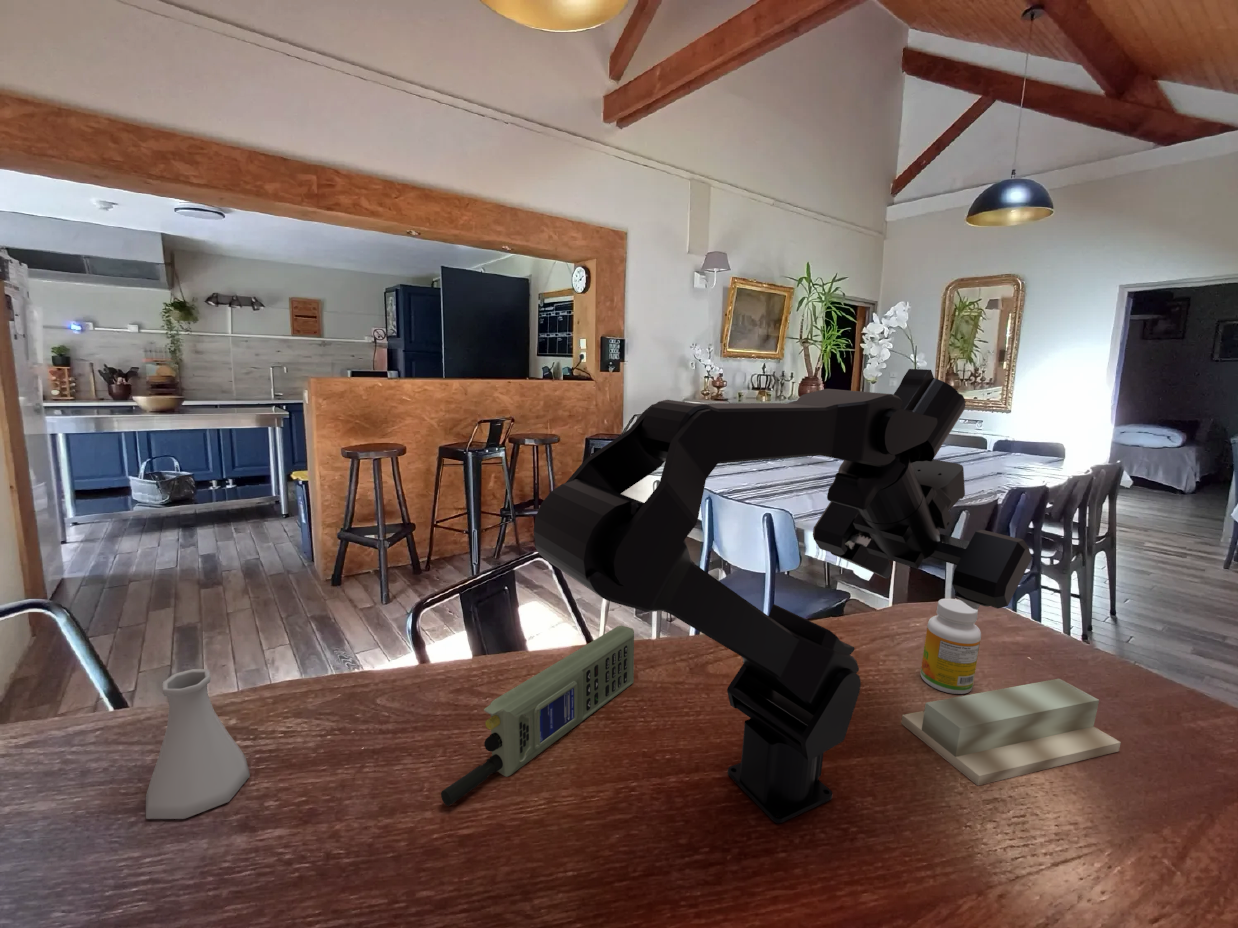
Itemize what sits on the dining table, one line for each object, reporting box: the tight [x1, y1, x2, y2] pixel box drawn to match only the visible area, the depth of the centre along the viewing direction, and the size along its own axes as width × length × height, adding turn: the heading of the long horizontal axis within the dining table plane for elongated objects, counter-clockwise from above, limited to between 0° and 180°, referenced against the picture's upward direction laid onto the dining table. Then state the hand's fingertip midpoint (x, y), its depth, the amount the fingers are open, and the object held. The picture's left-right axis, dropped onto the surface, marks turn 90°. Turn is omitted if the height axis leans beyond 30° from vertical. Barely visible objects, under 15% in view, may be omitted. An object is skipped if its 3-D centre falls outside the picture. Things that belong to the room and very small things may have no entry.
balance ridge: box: [900, 678, 1121, 787], centre depth 58 cm, size 18×9×4 cm, turn 107°
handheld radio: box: [440, 625, 635, 807], centre depth 56 cm, size 7×3×25 cm
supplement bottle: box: [920, 598, 982, 695], centre depth 67 cm, size 5×5×10 cm
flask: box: [145, 668, 251, 820], centre depth 47 cm, size 7×7×10 cm
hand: (930, 589), depth 61 cm, fingers open, 9 cm apart
